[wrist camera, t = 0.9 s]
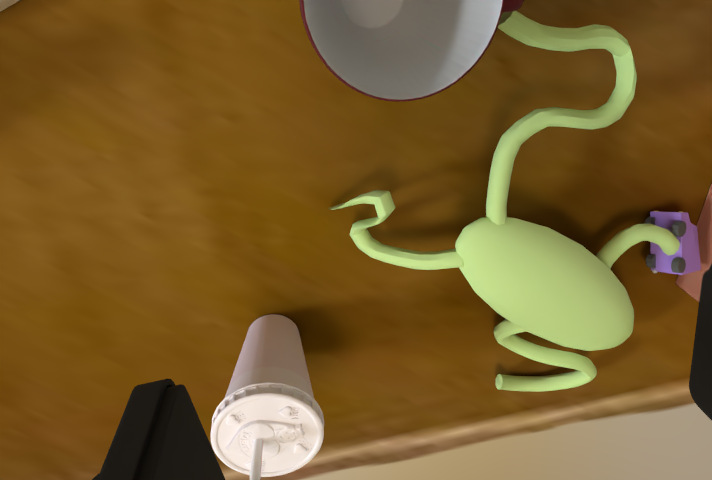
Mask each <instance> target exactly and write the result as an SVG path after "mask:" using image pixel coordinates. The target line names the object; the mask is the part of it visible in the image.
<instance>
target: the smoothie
mask: <svg viewBox="0 0 712 480" xmlns="http://www.w3.org/2000/svg"><path fill="white" fill-rule="evenodd" d="M323 428H324V418H323V412H322V410H321V409H320V407H319V405H318V403H317V402H316V401H315V400H314V396H313V392H312V388H311V384H310V379H309V375H308V370H307V366H306V361H305V357H304V353H303V348H302V344H301V339H300V335H299V331H298V328H297V326H296V324H295V323H294V322H293V321H292V320H290V319H289V318H287V317H285V316H282V315H276V314H271V315H265V316H262V317H260V318H258V319H257V320H255V321H254V322H253V323H252V324H251V326H250V328H249V330H248V333H247V336H246V339H245V341H244V344H243V347H242V350H241V353H240V356H239V359H238V362H237V364H236V367H235V370H234V373H233V376H232V379H231V382H230V385H229V387H228V390H227V392H226V396H225V399H224V400H223V401H222V402H221V403H220V404H219V405H218V406H217V408H216V411H215V413H214V415H213V417H212V429H211V444H212V447H213V450H214V452H215V453H216V455H217V456H218V458H219V459H220V460H221V461H222V462H223V463H224V464H226V465H227V466H229V467H230V468H232V469H234V470H236V471H238V472H241V473H243V474H247V475H250V480H261V477H271V476H278V475H284V474H287V473H290V472H293V471H295V470H297V469H299V468H301V467H302V466H304V465H305V464H307V463H308V462H309V461H310V460H311V459H313V457H314V456H315V455H316V454H317V452H318V451H319V449H320V447H321V445H322V441H323V436H324V431H323Z"/></svg>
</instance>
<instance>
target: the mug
mask: <svg viewBox="0 0 712 480" xmlns="http://www.w3.org/2000/svg"><path fill="white" fill-rule="evenodd" d="M299 1H300V9H301V15H302V19H303V23H304V26H305V29H306V32H307V34H308V37H309V39H310V41H311V43H312V45H313V48H314V49H315V51H316V52H317V54H318V56H319V57H320V59H321V60H322V61H323V63H324V64H325V65H326V67H327V68H328V69H329V70H330V71H331V72H332V73H333V74H334V75H335V76H336V77H337V78H338V79H339V80H341V81H342V82H343V83H345V84H346V85H347V86H349V87H351V88H352V89H354V90H356V91H358V92H360V93H362V94H364V95H367V96H370V97H373V98H376V99H381V100H386V101H412V100H418V99H422V98H426V97H429V96H432V95H434V94H437V93H439V92H441V91H443V90H445V89H447V88H449V87H450V86H452V85H453V84H455V83H456V82H458V81H459V80H460V79H461V78H463V77H464V76H465V75H466V74H467V73H468V72H469V71H470V70H471V69H472V68H473V67H474V66H475V65H476V64H477V62H478V61H479V60H480V59H481V57H482V56H483V54H484V53H485V51H486V50H487V48H488V47H489V45H490V43H491V41H492V39H493V37H494V35H495V32H496V30H497V28H498V25H499V22H500V18H501V15H502V12H512V11H516V10H518V9H519V8H520V7H521V5H522V3H523V1H524V0H299Z"/></svg>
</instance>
